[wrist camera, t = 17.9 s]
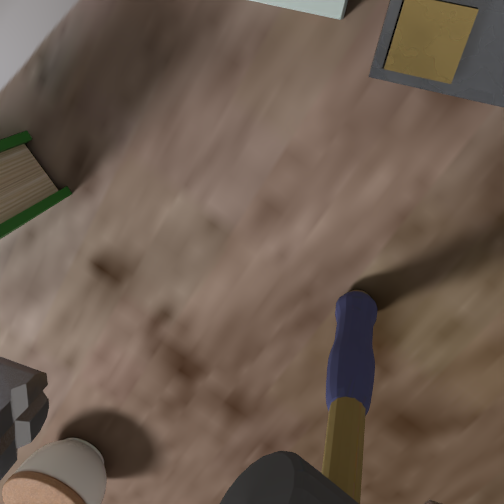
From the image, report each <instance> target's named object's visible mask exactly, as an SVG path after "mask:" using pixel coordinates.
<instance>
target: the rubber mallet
mask: <svg viewBox="0 0 504 504" xmlns="http://www.w3.org/2000/svg"><path fill="white" fill-rule="evenodd" d="M335 317H336V320H337V327H336V335H335V341H334V344H333V347H332V349H331V352H330V355H329V359H328V367H327V380H326V404H327V407H328V410H329V416H328V424H327V432H326V440H325V449H324V457H323V465H322V473H320V472H319V471H318V470H317V469H315V468H314V467H313V466H311V465H310V464H309V463H308V462H306V461H305V460H304V459H302V458H301V457H300V456H299V455H297V454H296V453H293V452H287V451H278V452H275V453H272V454H269V455H266V456H263V457H261V458H260V459H258V460H257V461H255V462H254V463H252V464H251V465H250V466H249V467H248V468H247V469H246V470H245V471H244V472H243V473H242V474H241V475H240V476H239V477H238V478H237V479H236V480H235V482H234V483H233V484H232V486H231V487H230V488H229V489H228V491H227V492H226V494H225V496H224V497H223V499H222V501H221V503H220V504H360V495H361V479H362V462H363V446H364V429H365V416H366V414H367V412H368V410H369V407H370V403H371V396H372V390H373V382H374V372H375V360H374V354H373V349H372V336H373V326H374V324H375V322H376V317H377V305H376V303H375V301H374V300H373V299H372V298H371V297H370V296H369V294H367V293H366V292H364V291H361V290H352V291H349V292H347V293H346V294H344V295H343V296H341V297H340V298H339V299H338V301H337V303H336V312H335Z"/></svg>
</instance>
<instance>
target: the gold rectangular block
mask: <svg viewBox="0 0 504 504" xmlns="http://www.w3.org/2000/svg"><path fill="white" fill-rule="evenodd" d="M478 10H479V9H475V8H470V7H465V6H460V5H455V4H450V3H445V2H440V1H435V0H404V3H403V6H402V10H401V13H400V16H399V20H398V23H397V26H396V30H395V33H394V36H393V40H392V43H391V46H390V50H389V53H388V56H387V60H386V63H385V66H384V69H385V70H390V71H394V72H399V73H403V74H408V75H412V76H416V77H421V78H425V79H430V80H434V81H439V82H443V83H448V84H451V83H452V80H453V78H454V75H455V72H456V69H457V67H458V64H459V61H460V59H461V56H462V53H463V51H464V48H465V45H466V43H467V40H468V37H469V35H470V32H471V29H472V27H473V24H474V21H475V19H476V16H477V13H478Z"/></svg>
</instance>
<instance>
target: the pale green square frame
mask: <svg viewBox="0 0 504 504" xmlns="http://www.w3.org/2000/svg"><path fill="white" fill-rule="evenodd" d="M250 1H255V2H260V3H264V4H269V5H274V6H278V7H283V8H288V9H293V10H297V11H302V12H307V13H311V14H316V15H321V16H326V17H330V18H335V19H340V20H341V19H344V14H345V10H346V6H347V2H348V0H250Z"/></svg>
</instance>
